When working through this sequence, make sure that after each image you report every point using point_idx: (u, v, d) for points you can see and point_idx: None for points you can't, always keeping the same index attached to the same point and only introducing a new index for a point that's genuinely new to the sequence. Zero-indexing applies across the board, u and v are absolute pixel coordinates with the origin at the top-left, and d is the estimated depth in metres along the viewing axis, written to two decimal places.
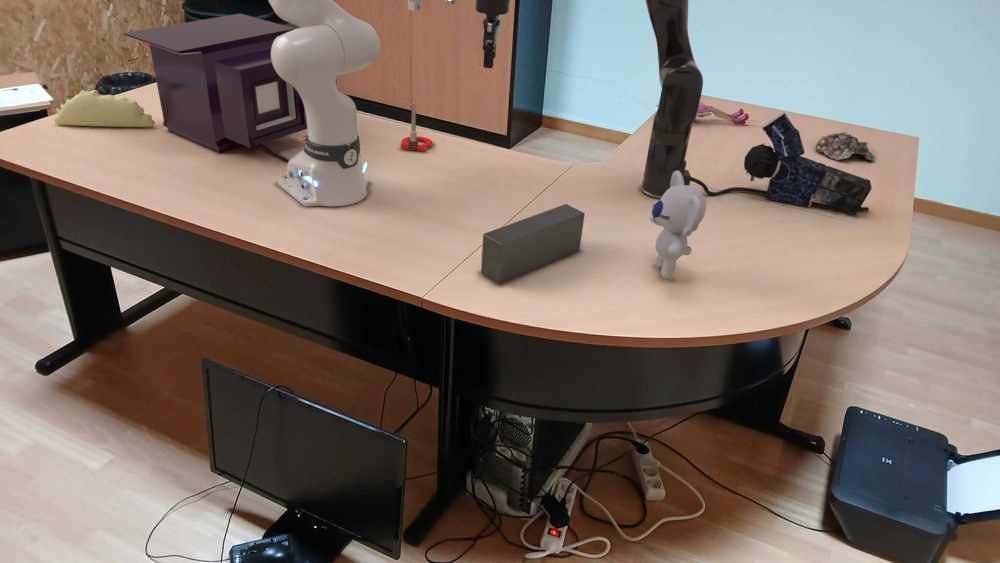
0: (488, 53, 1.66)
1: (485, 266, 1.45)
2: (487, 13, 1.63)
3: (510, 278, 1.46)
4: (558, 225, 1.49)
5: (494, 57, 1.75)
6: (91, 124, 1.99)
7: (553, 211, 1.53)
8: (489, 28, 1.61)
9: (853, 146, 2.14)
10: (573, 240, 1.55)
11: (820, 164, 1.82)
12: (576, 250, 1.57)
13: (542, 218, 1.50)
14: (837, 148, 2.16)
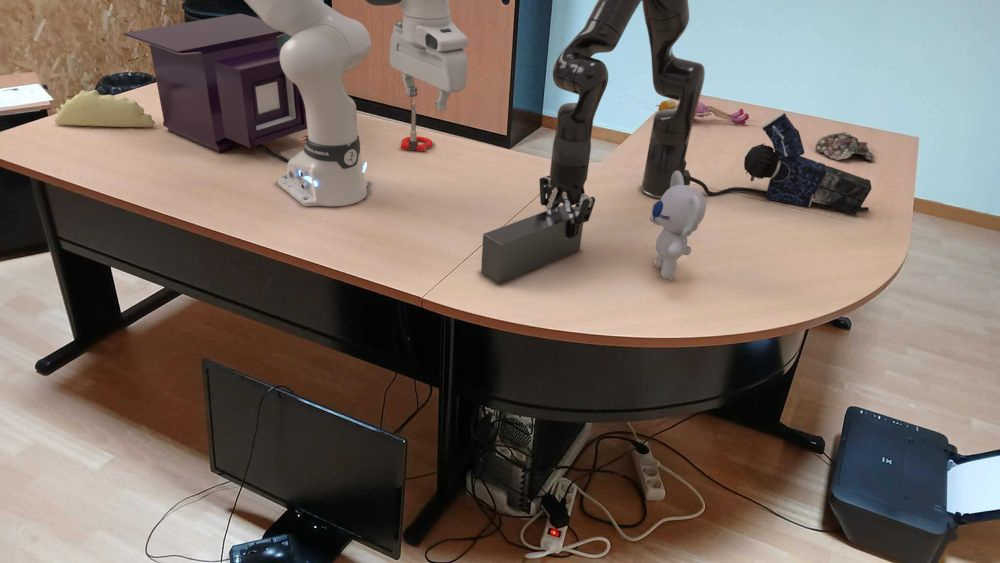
0: None
1: (485, 266, 1.45)
2: None
3: (510, 278, 1.46)
4: (558, 225, 1.49)
5: (568, 236, 1.53)
6: (91, 124, 1.99)
7: (553, 211, 1.53)
8: None
9: (853, 146, 2.14)
10: (573, 240, 1.55)
11: (820, 164, 1.82)
12: (576, 250, 1.57)
13: (542, 218, 1.50)
14: (837, 148, 2.16)
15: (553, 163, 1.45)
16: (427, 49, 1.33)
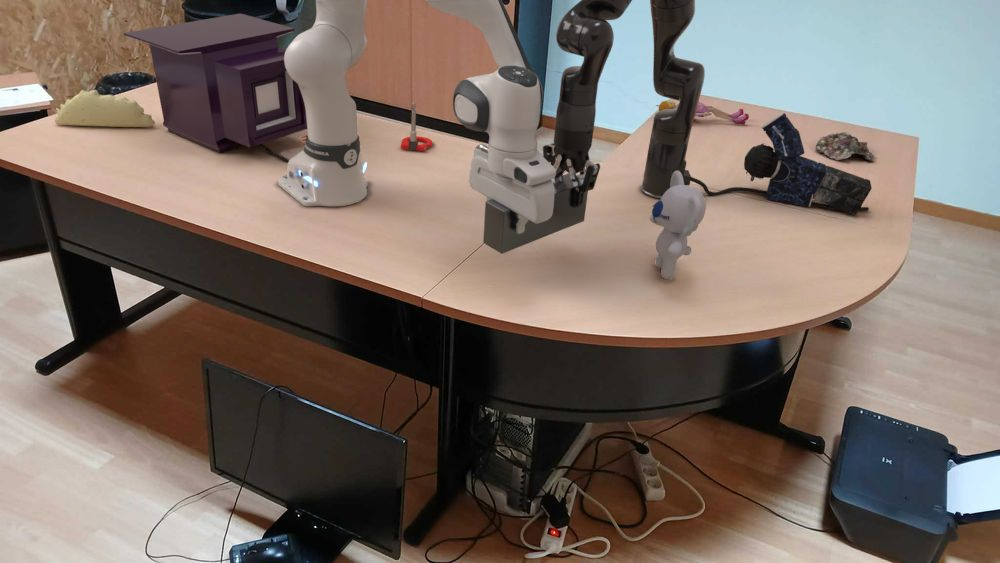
0: None
1: (488, 235, 1.42)
2: None
3: (513, 247, 1.42)
4: (562, 194, 1.45)
5: (572, 206, 1.49)
6: (91, 124, 1.99)
7: (557, 180, 1.49)
8: None
9: (853, 146, 2.14)
10: (578, 210, 1.51)
11: (820, 164, 1.82)
12: (580, 220, 1.53)
13: None
14: (837, 148, 2.16)
15: (557, 129, 1.42)
16: (514, 180, 1.32)
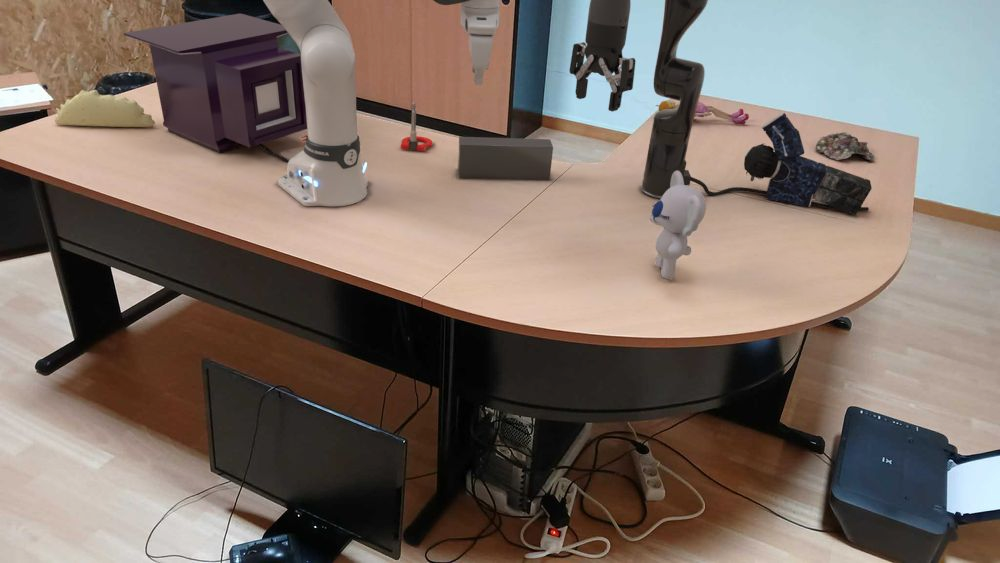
0: None
1: (458, 163, 1.88)
2: None
3: (471, 177, 1.86)
4: (522, 148, 1.83)
5: (609, 109, 1.41)
6: (91, 124, 1.99)
7: (531, 140, 1.87)
8: None
9: (853, 146, 2.14)
10: (541, 168, 1.87)
11: (820, 164, 1.82)
12: (545, 178, 1.88)
13: (516, 141, 1.86)
14: (837, 148, 2.16)
15: (590, 25, 1.35)
16: None
